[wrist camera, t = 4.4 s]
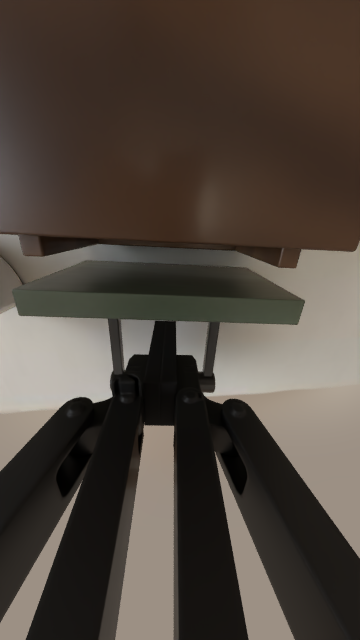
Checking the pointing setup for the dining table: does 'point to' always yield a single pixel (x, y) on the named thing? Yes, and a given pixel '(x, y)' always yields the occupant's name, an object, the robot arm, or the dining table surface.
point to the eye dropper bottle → (7, 286)
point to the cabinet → (182, 121)
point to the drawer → (158, 292)
